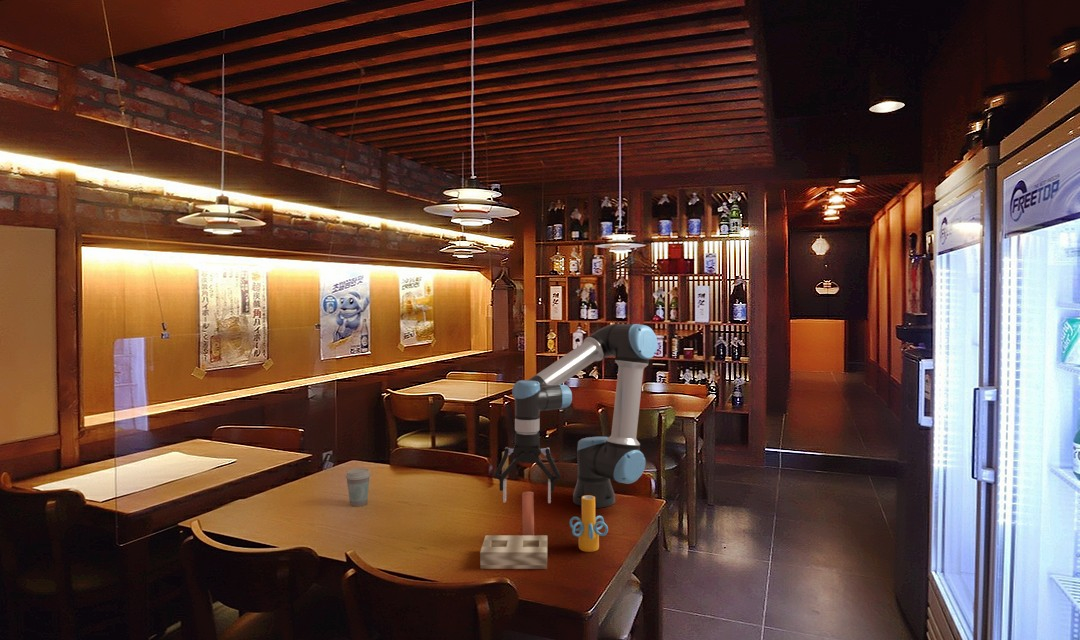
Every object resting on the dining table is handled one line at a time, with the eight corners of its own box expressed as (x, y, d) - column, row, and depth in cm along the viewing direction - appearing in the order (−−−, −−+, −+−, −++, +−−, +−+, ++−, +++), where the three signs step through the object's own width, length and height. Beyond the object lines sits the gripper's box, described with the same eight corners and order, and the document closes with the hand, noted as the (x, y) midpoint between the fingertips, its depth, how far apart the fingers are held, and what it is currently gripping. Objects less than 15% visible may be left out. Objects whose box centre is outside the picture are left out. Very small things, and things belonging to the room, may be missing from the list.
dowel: (534, 536, 187) (533, 491, 187) (533, 541, 184) (533, 495, 184) (523, 536, 188) (522, 491, 187) (522, 541, 184) (521, 495, 184)
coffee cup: (341, 506, 217) (340, 473, 217) (356, 499, 225) (356, 467, 225) (360, 509, 214) (360, 475, 214) (375, 501, 222) (375, 469, 222)
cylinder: (568, 540, 184) (567, 491, 183) (602, 539, 185) (601, 490, 184) (573, 557, 172) (573, 505, 171) (610, 556, 173) (609, 503, 172)
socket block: (547, 550, 177) (547, 535, 176) (546, 568, 165) (546, 552, 164) (485, 550, 177) (485, 535, 177) (480, 568, 165) (480, 552, 165)
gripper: (568, 429, 188) (567, 498, 189) (487, 429, 189) (487, 497, 189) (568, 434, 181) (568, 506, 181) (484, 434, 181) (484, 504, 182)
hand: (527, 501), depth 185 cm, fingers open, 13 cm apart
